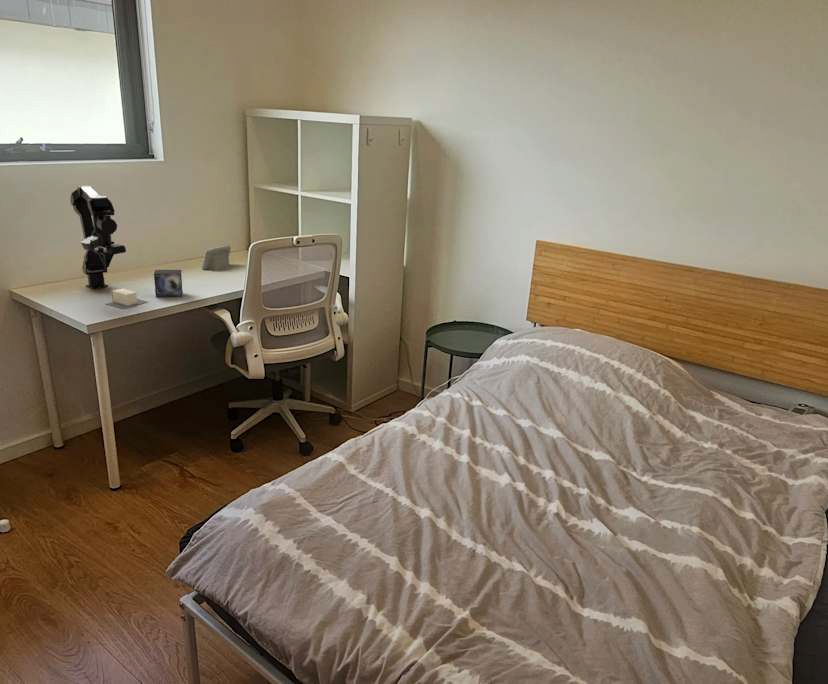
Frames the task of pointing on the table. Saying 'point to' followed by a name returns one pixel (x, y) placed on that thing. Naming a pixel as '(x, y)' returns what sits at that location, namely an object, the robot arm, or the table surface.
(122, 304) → the grey rubber mat
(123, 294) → the cream block
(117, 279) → the table surface
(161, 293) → the small box
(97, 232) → the robot arm
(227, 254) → the digital clock
